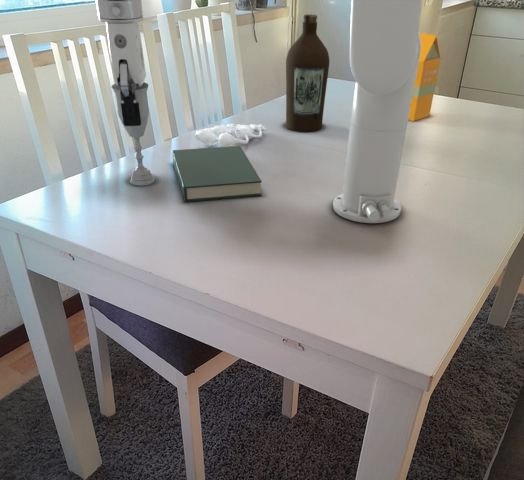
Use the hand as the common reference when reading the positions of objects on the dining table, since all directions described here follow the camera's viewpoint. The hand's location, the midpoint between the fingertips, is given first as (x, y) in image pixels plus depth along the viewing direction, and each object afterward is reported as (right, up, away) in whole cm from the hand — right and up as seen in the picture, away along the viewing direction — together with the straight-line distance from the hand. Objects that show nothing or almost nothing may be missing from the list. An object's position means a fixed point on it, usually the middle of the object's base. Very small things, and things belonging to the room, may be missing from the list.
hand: (134, 119), depth 104 cm
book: (+15, -9, +9) cm, 19 cm away
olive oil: (+35, +14, +38) cm, 54 cm away
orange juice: (+66, +21, +47) cm, 84 cm away
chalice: (0, -10, +8) cm, 12 cm away
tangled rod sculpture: (+17, +7, +28) cm, 34 cm away
